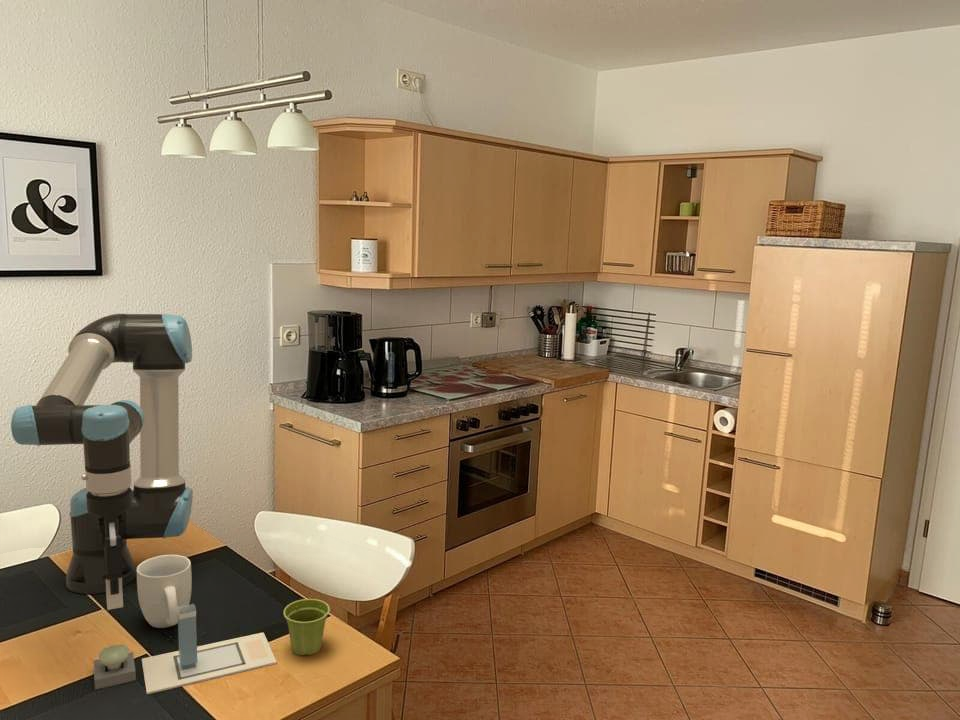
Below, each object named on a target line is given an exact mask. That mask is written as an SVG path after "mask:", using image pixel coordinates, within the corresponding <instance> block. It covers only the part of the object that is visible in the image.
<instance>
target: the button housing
mask: <svg viewBox="0 0 960 720" xmlns="http://www.w3.org/2000/svg"><path fill="white" fill-rule="evenodd" d="M134 656H135V655H134V651H129V657H128V658H127V659H126V660H125V661H124V662H122V663H121V669H117V670H112V671H108V669H107V666H104V665H101V664H100V663H99V658H97V659H93V682H94V690H95V691H96V690H99V689H104V688H108V687H112V686H117V685H121V684H126V683H129V682H133V681H134V680H135V681H137V674H136V665H135V658H134Z"/></svg>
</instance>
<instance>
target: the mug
mask: <svg viewBox="0 0 960 720" xmlns="http://www.w3.org/2000/svg"><path fill="white" fill-rule="evenodd" d="M192 575H193V574H192V563H191V560H190V559H189V558H188V557H186V556H184V555H181V554H163V555H162V554H161V555H158V556H154V557H151V558H147V559H144V561H141V563H139V564H138V566H136V587H137V588H136V589H137V597H138V598H137V600H138V603H139V607H140V610H141V613H142V615H143V617H144V619H145V620H146V622H147V623H148V624H149V626H151V627H153V628H157V629H165V628H170V627H171V628H172V627H173V626H176V625H178V612H177V607H181V606H186V605H190V601H191V596H192V588H193V587H192V584H193V583H192Z"/></svg>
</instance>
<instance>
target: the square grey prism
mask: <svg viewBox="0 0 960 720" xmlns="http://www.w3.org/2000/svg"><path fill="white" fill-rule="evenodd" d="M177 612H178V624H177V632H178V633H177V634H178V636H177V637H178V651H179V659H180V663H181V666H182V669H188V668H192V667H196V663H197V647H198V644H197V642H198V640H197V636H198V635H197V610H196V606H195V604H194V603H192V604H189V605H186V606H181V607H177Z"/></svg>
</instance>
